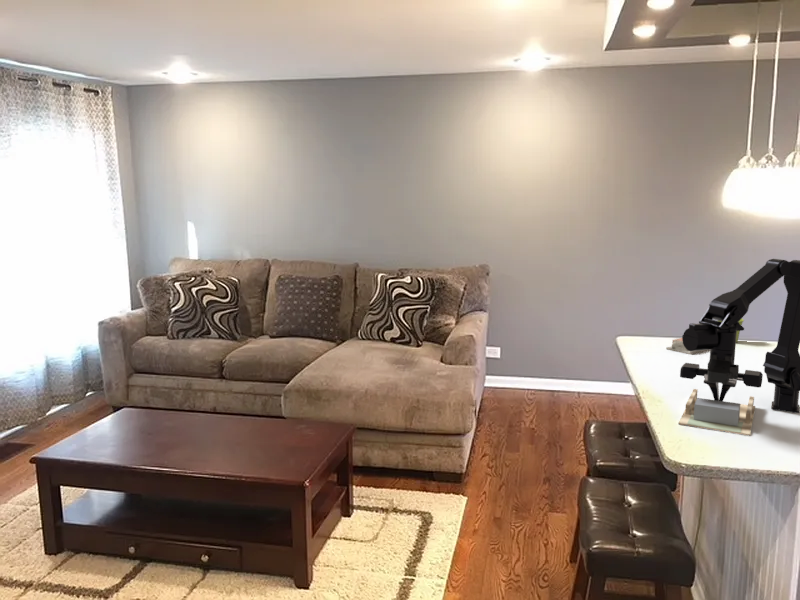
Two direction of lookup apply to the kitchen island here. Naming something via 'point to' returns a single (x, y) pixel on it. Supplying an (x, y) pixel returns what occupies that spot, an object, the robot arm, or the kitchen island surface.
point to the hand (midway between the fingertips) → (718, 406)
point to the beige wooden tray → (742, 427)
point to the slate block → (717, 411)
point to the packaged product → (681, 347)
